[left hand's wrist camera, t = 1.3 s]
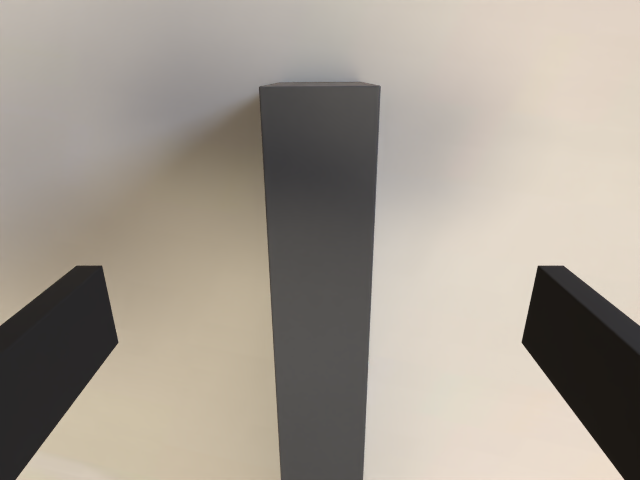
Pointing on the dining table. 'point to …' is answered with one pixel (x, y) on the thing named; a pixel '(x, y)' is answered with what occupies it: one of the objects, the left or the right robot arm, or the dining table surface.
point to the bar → (320, 268)
